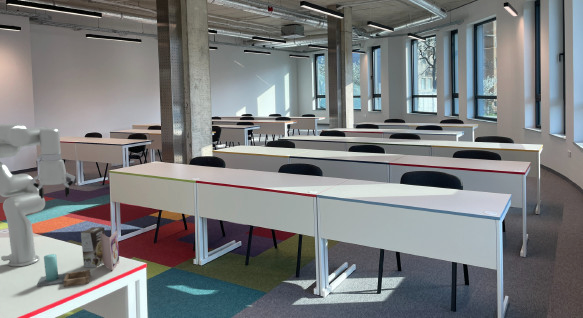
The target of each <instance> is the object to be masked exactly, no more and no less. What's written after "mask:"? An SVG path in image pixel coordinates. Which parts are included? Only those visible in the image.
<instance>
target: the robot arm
mask: <svg viewBox="0 0 583 318" xmlns="http://www.w3.org/2000/svg"><path fill="white" fill-rule="evenodd" d="M60 137H61V136H60V131H59V129H58V128H53V127H52V128H51V127H50V128H49V127H47V126H40V127H39V126H38V127H28V128H27V127H26V126H25V125H24V124H22V123H17V122H16V123H7V124H5V123H4V124H0V159H4V158H11V157H15V156H17V155H18V153H20V151H21V149H22V147H23V148H24V147H32V146H39V147H40V155H37V159H38V160H39V163H38V174H37V175H36V176H34V177H32V176H31V175H29V174H28V173H19V174H12V172H11V171H10V169H9V167H8V166H7V165H6V164H5V163H3V162H1V161H0V197H3V198H6V199H5V200H4V202H3V204H2V210H3V211H4V216H5V217H6V218H5V219H6V221H7V222H6V223H7V229H8V237H9V247H10V252H11V253H10V254H9V255H2V256H0V258H1V259H0V260H1V261H3V262H7V261H8V266H10V267H24V266H30V265H33V264H35V263H37V262H39V261H40V260H41V259H40V256H39V255H37V254H36V249H35V242H34V233H33V232H34V231H33V225H32V222H31V220H30V219H29V218H28V217H27V215H29V214H35V213H38V212H40V211H42V210H44V209H45V206H46V200H45V194H44V193H45V191H44V190H45V189H44V188H43V187H44V186H54V185H63V186H64V192H65V197H69V195H70V194H71V191H70V186H71V185H72V184H73V183H74V182H75V179H76V176H75V175H73V174H70V173H68V172H67V171H66V170H67V169H66V165H65V162H64V159H62V151H61V150H62V149H61V138H60ZM40 160H41V161H40ZM67 179H70V181H69V182H68V181H67ZM36 180H38V181H39V183H38V182H37V181H36Z"/></svg>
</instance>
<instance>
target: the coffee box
mask: <svg viewBox="0 0 583 318" xmlns="http://www.w3.org/2000/svg"><path fill="white" fill-rule="evenodd" d="M100 233H102V234H104V235H105V236H106V233H105V227H103V226H95V227H93V226H92V227H90V228H88V229H85V230H84V231H81V232H80V239H81V249H82V258H83V259H82V261H83V267H84V268H94V267H95V268H97V266H98V267H99V266H101V265H103V264H102V263H103V255H102V244H101V234H100ZM100 264H101V265H100Z"/></svg>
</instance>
